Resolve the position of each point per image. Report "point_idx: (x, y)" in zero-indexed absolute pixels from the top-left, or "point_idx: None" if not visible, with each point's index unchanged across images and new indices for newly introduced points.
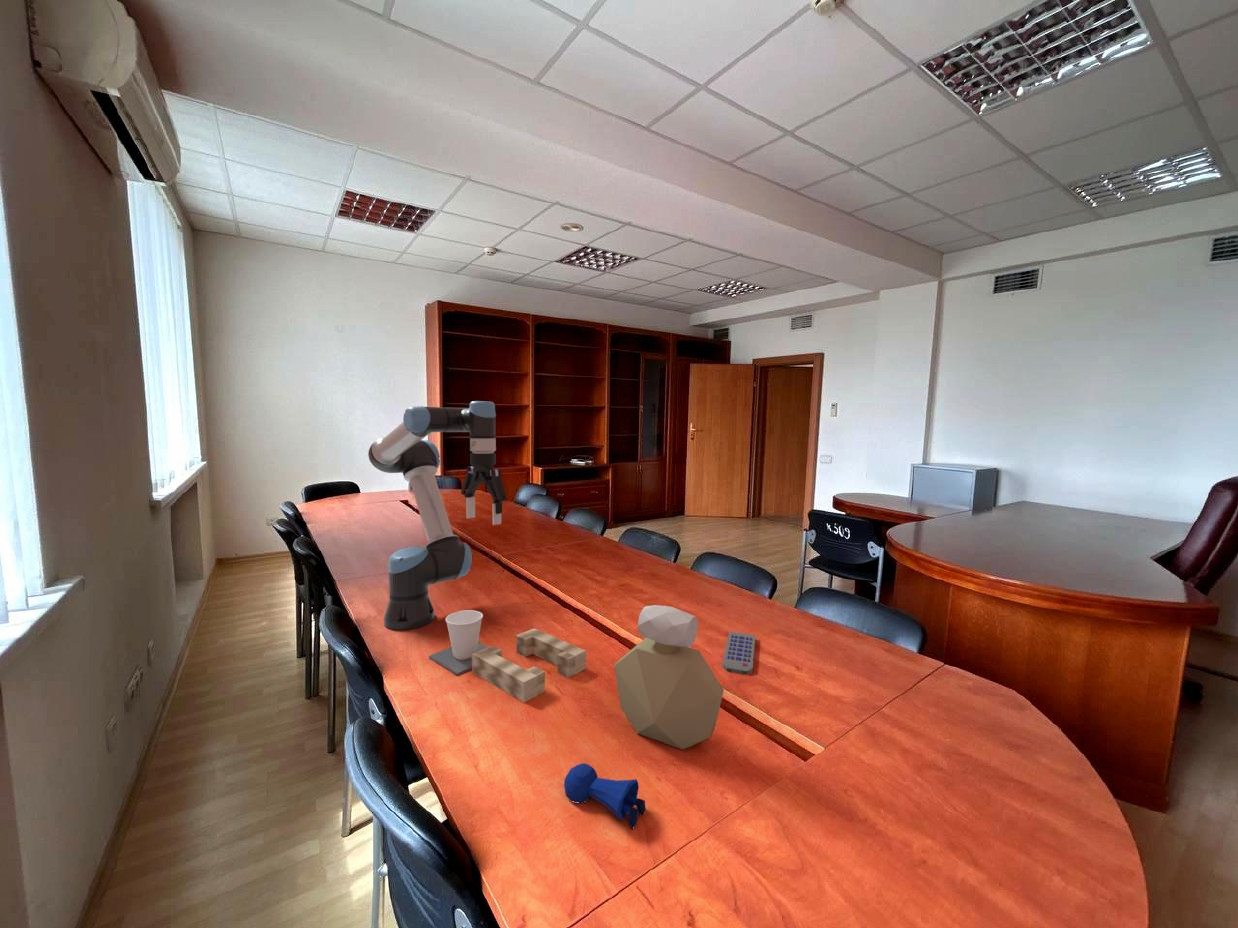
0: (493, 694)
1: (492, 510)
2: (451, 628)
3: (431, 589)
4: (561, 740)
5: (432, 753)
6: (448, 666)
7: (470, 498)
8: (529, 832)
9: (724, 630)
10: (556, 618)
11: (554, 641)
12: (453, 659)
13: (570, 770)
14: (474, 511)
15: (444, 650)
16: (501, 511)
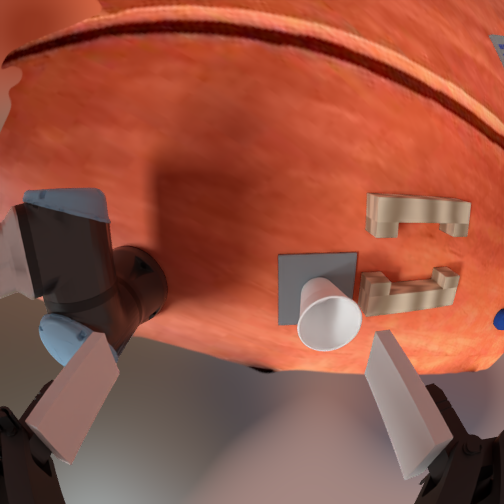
0: None
1: (390, 438)
2: (330, 342)
3: None
4: (481, 300)
5: None
6: None
7: (60, 448)
8: (485, 349)
9: (479, 24)
10: (312, 89)
11: (431, 210)
12: None
13: (501, 326)
14: (87, 359)
15: (280, 304)
16: (441, 396)
